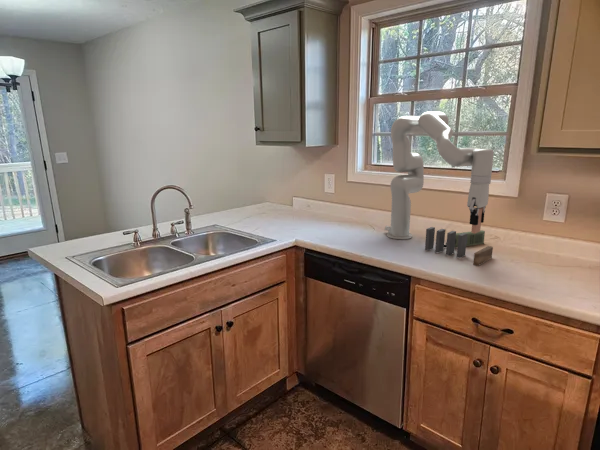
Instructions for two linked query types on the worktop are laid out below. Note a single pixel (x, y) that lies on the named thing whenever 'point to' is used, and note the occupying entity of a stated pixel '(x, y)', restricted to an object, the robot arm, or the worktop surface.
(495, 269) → the worktop surface
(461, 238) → the domino
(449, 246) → the domino
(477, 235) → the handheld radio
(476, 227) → the domino
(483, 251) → the bar
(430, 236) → the domino
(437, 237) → the domino
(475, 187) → the robot arm
